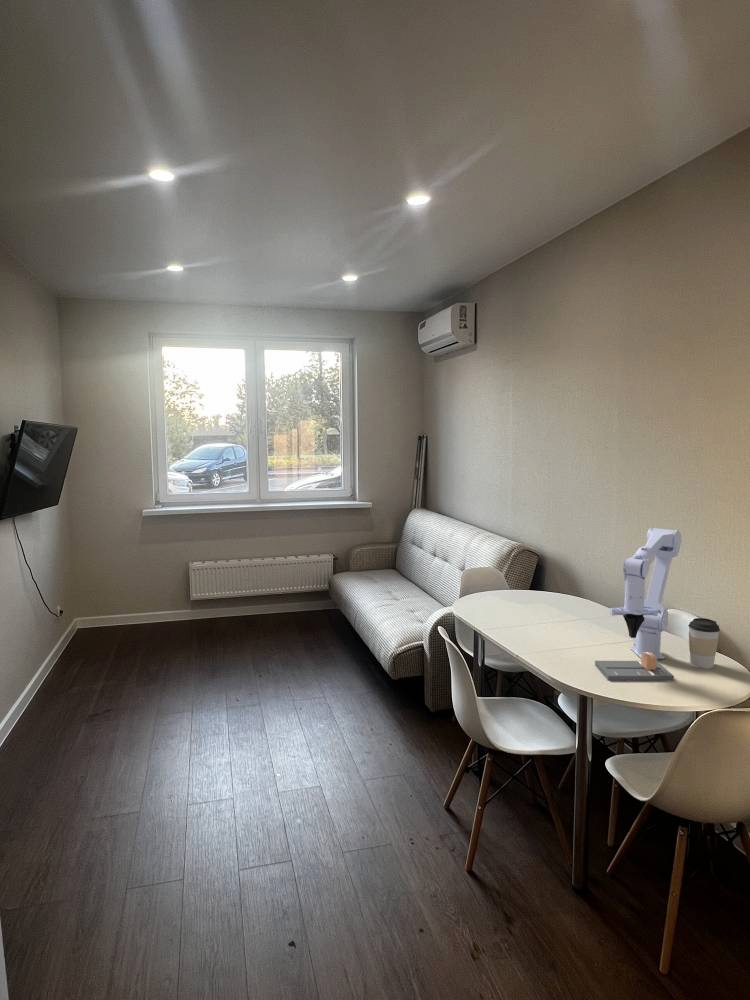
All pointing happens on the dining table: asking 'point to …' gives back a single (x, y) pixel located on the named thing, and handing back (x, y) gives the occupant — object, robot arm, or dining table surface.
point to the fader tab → (649, 660)
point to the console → (632, 671)
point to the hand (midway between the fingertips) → (632, 636)
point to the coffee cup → (703, 642)
